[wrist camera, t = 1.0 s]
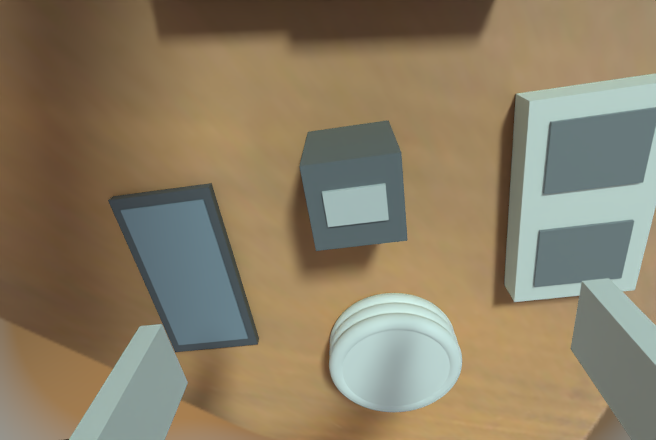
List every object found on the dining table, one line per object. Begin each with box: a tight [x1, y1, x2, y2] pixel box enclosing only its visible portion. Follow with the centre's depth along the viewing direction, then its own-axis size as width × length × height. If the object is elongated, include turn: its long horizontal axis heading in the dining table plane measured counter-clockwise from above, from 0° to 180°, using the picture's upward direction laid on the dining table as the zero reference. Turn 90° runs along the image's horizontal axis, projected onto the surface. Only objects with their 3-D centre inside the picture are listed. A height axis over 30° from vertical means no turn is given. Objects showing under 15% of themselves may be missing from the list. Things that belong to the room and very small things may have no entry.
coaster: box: [329, 293, 462, 412], centre depth 32 cm, size 10×10×4 cm
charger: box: [300, 121, 407, 251], centre depth 24 cm, size 5×5×6 cm
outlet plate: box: [504, 74, 656, 302], centre depth 26 cm, size 14×8×2 cm, turn 9°
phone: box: [108, 183, 259, 352], centre depth 31 cm, size 14×7×1 cm, turn 9°
